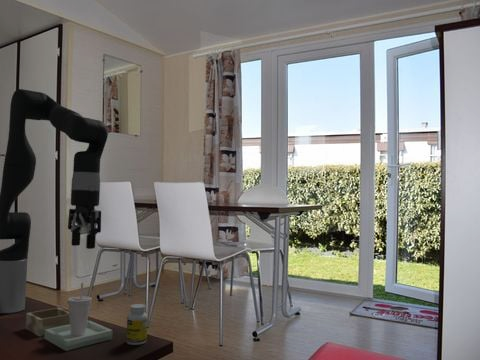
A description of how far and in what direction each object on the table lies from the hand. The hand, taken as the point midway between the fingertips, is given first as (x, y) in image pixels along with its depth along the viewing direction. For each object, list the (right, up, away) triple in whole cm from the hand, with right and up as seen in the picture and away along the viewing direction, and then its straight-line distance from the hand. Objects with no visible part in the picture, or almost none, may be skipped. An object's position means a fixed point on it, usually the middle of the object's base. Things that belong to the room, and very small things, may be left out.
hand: (82, 247), depth 114 cm
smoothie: (-1, -24, -1) cm, 24 cm away
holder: (-12, -25, +6) cm, 29 cm away
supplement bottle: (+16, -26, -3) cm, 30 cm away
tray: (-1, -25, -1) cm, 25 cm away
